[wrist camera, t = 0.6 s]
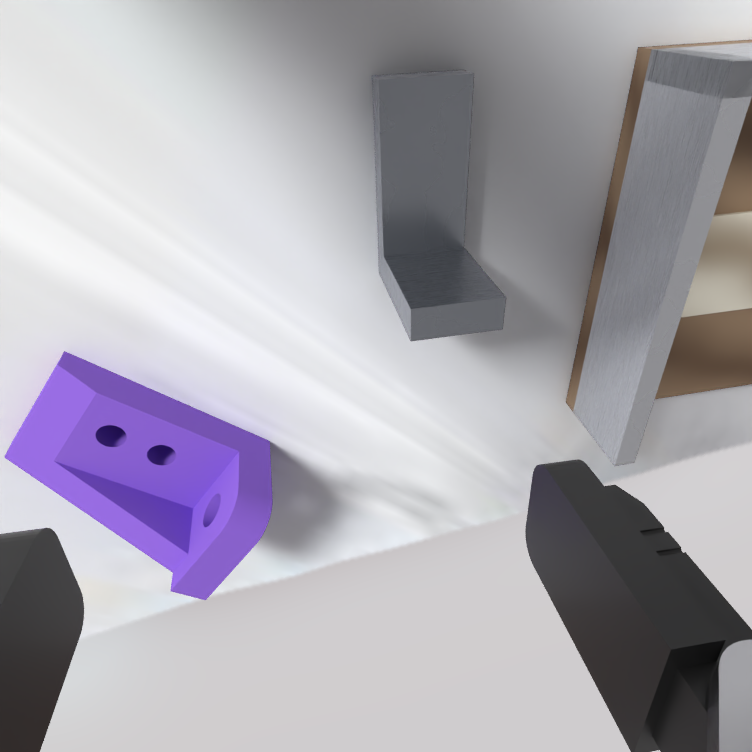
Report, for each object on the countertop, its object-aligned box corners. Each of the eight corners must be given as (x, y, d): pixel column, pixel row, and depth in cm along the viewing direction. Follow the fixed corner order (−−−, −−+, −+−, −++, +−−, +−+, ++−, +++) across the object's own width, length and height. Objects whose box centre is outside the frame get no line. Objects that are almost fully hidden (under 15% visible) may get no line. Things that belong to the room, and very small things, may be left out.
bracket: (269, 437, 34) (273, 524, 28) (212, 506, 36) (205, 600, 31) (66, 347, 28) (21, 436, 22) (14, 438, 30) (-38, 537, 25)
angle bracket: (371, 75, 23) (410, 101, 18) (462, 69, 24) (529, 93, 18) (378, 272, 28) (410, 341, 23) (453, 263, 29) (502, 329, 23)
